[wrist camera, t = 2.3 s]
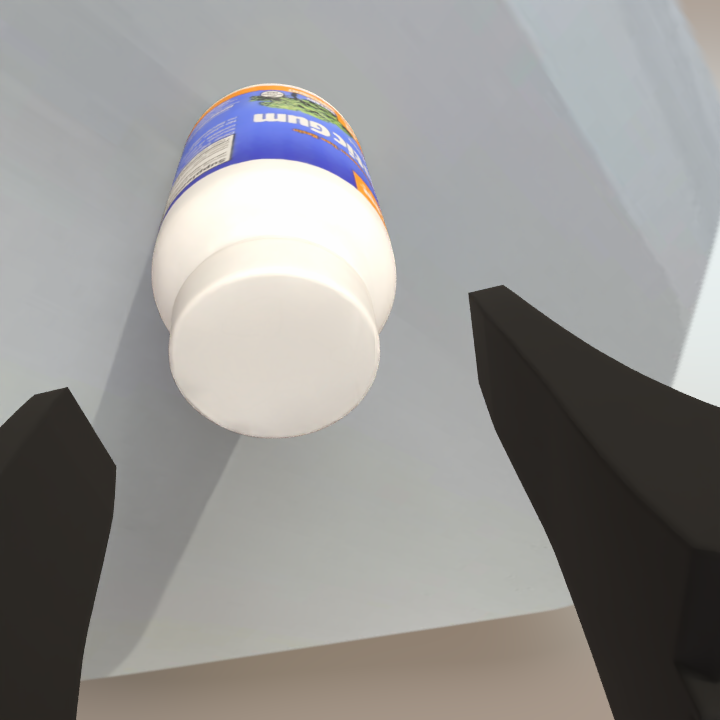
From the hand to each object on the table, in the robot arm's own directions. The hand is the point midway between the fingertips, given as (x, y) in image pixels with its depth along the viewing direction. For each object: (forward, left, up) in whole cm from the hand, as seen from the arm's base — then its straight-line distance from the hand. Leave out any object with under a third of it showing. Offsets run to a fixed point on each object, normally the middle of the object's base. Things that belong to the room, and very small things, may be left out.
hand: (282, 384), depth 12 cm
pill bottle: (0, 0, -11) cm, 11 cm away
